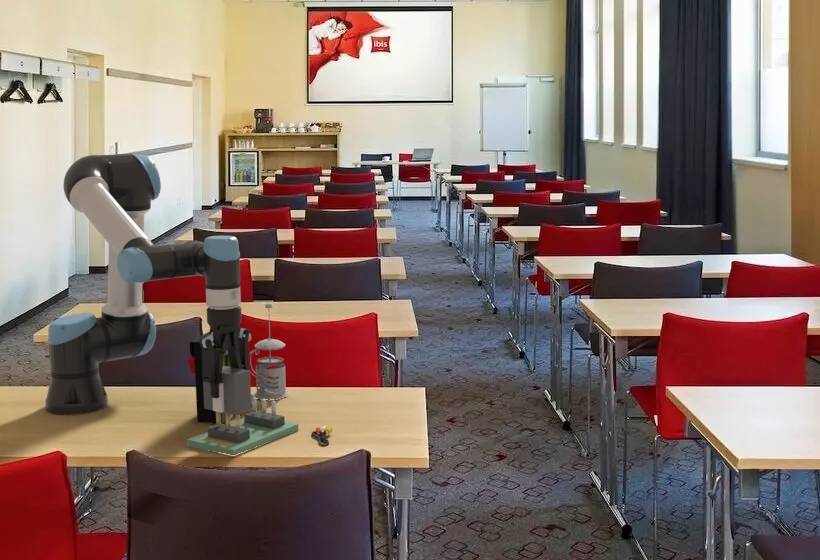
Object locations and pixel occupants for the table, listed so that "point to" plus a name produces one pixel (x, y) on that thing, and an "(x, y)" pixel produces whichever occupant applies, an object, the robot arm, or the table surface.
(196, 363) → the electrical component
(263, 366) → the french press
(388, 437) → the table surface
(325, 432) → the composite cable
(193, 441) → the header board
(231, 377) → the block
